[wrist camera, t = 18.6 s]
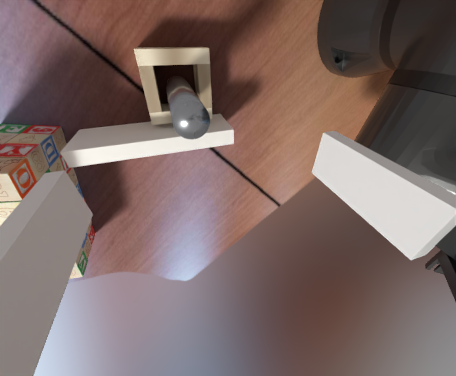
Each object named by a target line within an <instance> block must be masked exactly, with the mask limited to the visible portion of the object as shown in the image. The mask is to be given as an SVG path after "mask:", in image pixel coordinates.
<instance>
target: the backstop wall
mask: <svg viewBox="0 0 456 376" xmlns="http://www.w3.org/2000/svg"><path fill="white" fill-rule="evenodd" d="M212 117H213V119H210V126H209V129H208V130H207V132H206V133H205V134H204V135H203V136H202V137H200V138H197V139H186V138H183V137H181V136H180V135H179V134H178V133H177V132H176V131H175V129H174V127H173V124H172V123H168V124H157V125H152V122H142V123H133V124H124V125H115V126H106V127H97V128H89V129H80V130H79V131H78V132H77V133H76V134H75V135H74V136H73V138H72V139H71V140H70V141H69V142H68V144H67V145H66V146H65V147H64V148H63V149H62V151H61V152H60V153H61V155H62V156H63V158H64V160H65V161H66V163H67V165H68V166H69V168H72V167H79V166H86V165H93V164H99V163H106V162H113V161H120V160H127V159H134V158H140V157H147V156H154V155H161V154H168V153H174V152H181V151H188V150H195V149H202V148H208V147H215V146H222V145H229V144H234V129H233V128H232V127H231V126H230V125H229V123H228V122H227V121H226V120H225V119H224V117H223V116H222V115H221V114H213V115H212Z"/></svg>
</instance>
